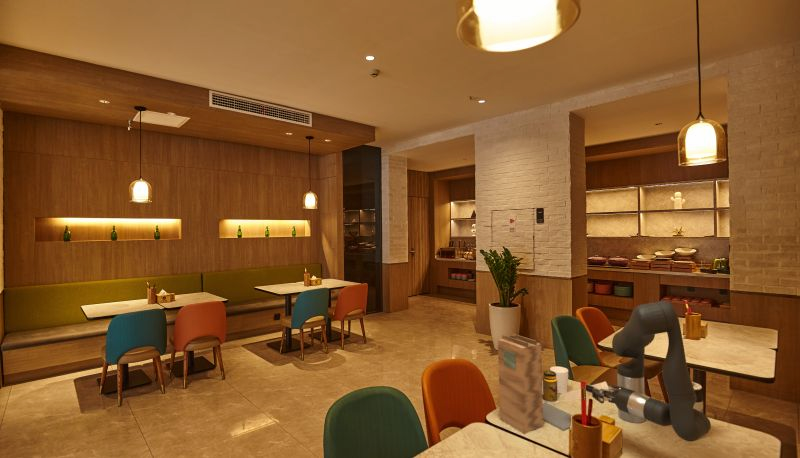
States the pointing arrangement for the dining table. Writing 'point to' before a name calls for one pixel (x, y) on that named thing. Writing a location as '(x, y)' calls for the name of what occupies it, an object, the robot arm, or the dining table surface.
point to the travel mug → (698, 398)
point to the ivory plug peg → (577, 393)
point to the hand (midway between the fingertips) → (588, 386)
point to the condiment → (550, 387)
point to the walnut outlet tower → (520, 382)
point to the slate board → (556, 417)
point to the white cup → (561, 379)
